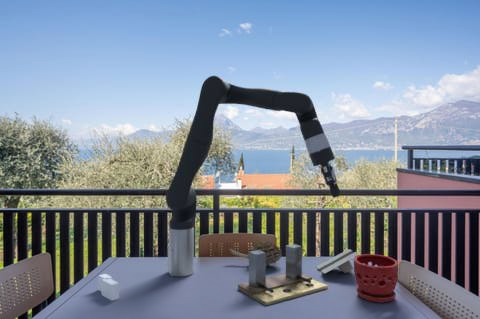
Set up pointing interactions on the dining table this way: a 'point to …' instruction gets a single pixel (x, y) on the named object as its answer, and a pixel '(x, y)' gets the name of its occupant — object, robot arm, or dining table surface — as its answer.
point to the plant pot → (376, 277)
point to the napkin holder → (108, 287)
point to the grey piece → (339, 262)
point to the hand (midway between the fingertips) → (337, 195)
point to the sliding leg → (258, 270)
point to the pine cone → (270, 249)
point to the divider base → (289, 278)
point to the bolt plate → (289, 292)
